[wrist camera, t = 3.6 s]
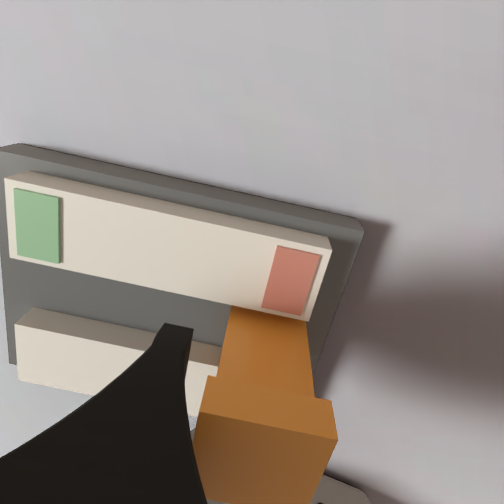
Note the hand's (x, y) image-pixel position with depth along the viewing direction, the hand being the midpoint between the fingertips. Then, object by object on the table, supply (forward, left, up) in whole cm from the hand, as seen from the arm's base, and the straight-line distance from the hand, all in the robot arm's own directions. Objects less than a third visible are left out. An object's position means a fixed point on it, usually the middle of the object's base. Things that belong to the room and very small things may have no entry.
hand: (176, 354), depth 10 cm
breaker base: (0, +1, -3) cm, 4 cm away
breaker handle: (0, -2, -2) cm, 3 cm away
